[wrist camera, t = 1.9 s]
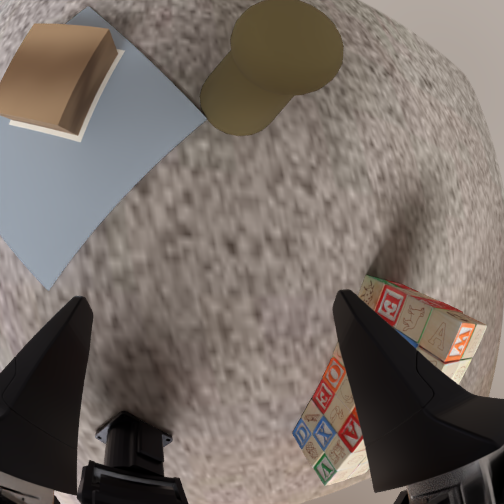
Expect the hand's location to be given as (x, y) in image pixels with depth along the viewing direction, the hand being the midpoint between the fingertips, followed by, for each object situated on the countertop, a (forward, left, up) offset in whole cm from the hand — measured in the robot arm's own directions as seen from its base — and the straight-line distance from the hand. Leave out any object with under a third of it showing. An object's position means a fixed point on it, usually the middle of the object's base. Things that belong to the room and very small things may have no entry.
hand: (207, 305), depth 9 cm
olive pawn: (+10, +5, -12) cm, 16 cm away
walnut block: (+1, +16, -11) cm, 20 cm away
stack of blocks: (+2, -22, -12) cm, 25 cm away
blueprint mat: (-2, +14, -12) cm, 18 cm away
